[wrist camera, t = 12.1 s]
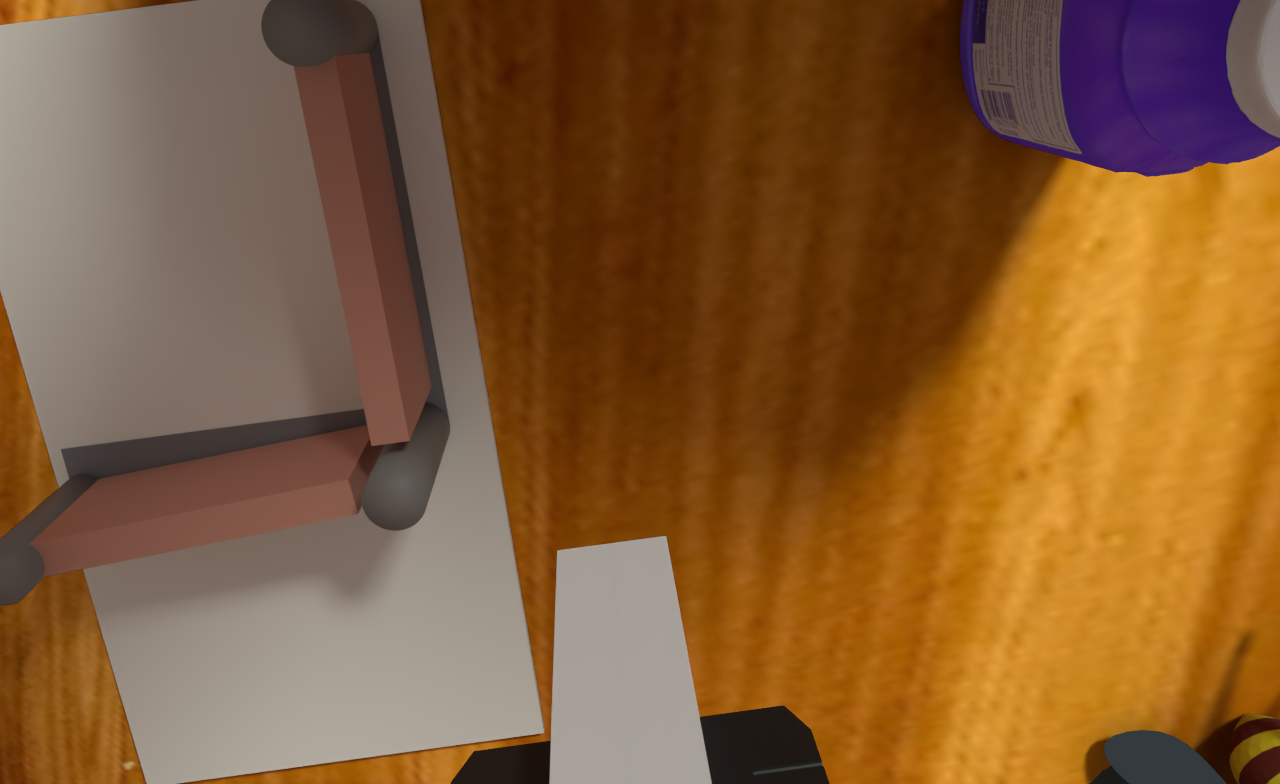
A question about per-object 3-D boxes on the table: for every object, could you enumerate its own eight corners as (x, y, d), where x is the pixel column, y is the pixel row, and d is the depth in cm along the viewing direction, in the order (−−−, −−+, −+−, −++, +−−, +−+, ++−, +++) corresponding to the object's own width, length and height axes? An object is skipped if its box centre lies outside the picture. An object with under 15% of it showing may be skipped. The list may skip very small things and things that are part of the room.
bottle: (1108, 134, 41) (1477, 201, 24) (950, 151, 41) (1212, 231, 24) (1113, -85, 38) (1523, -179, 22) (947, -69, 38) (1231, -149, 22)
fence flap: (375, 415, 41) (339, 482, 35) (387, 460, 42) (355, 535, 36) (53, 479, 42) (-40, 558, 35) (70, 524, 42) (-18, 610, 36)
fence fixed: (310, 2, 38) (253, -5, 31) (371, -6, 38) (328, -15, 31) (400, 456, 42) (368, 534, 36) (454, 449, 42) (432, 526, 36)
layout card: (-69, 34, 38) (-77, 34, 37) (416, -27, 38) (414, -28, 37) (151, 781, 46) (147, 788, 46) (544, 727, 46) (544, 734, 46)
